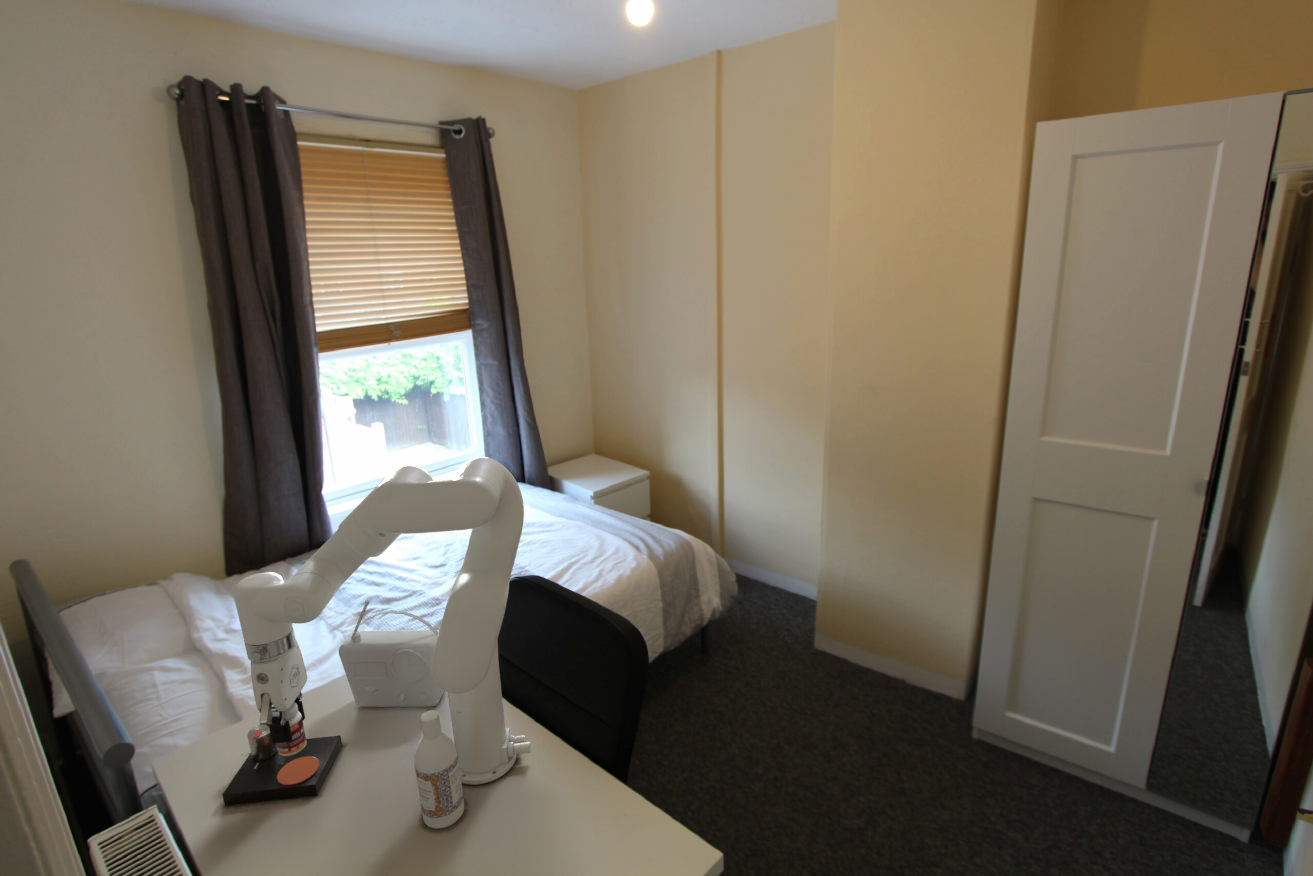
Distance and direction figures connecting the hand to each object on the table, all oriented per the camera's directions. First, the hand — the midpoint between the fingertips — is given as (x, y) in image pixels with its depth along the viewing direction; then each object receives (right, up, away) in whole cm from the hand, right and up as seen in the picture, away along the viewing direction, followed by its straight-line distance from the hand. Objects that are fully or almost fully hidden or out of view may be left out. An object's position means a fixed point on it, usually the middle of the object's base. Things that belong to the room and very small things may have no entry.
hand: (289, 730), depth 120 cm
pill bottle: (0, -4, +1) cm, 4 cm away
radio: (+11, -5, +25) cm, 28 cm away
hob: (-3, -11, +5) cm, 12 cm away
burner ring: (0, -9, +2) cm, 9 cm away
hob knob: (-9, -8, +7) cm, 14 cm away
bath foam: (+30, -12, -5) cm, 33 cm away
